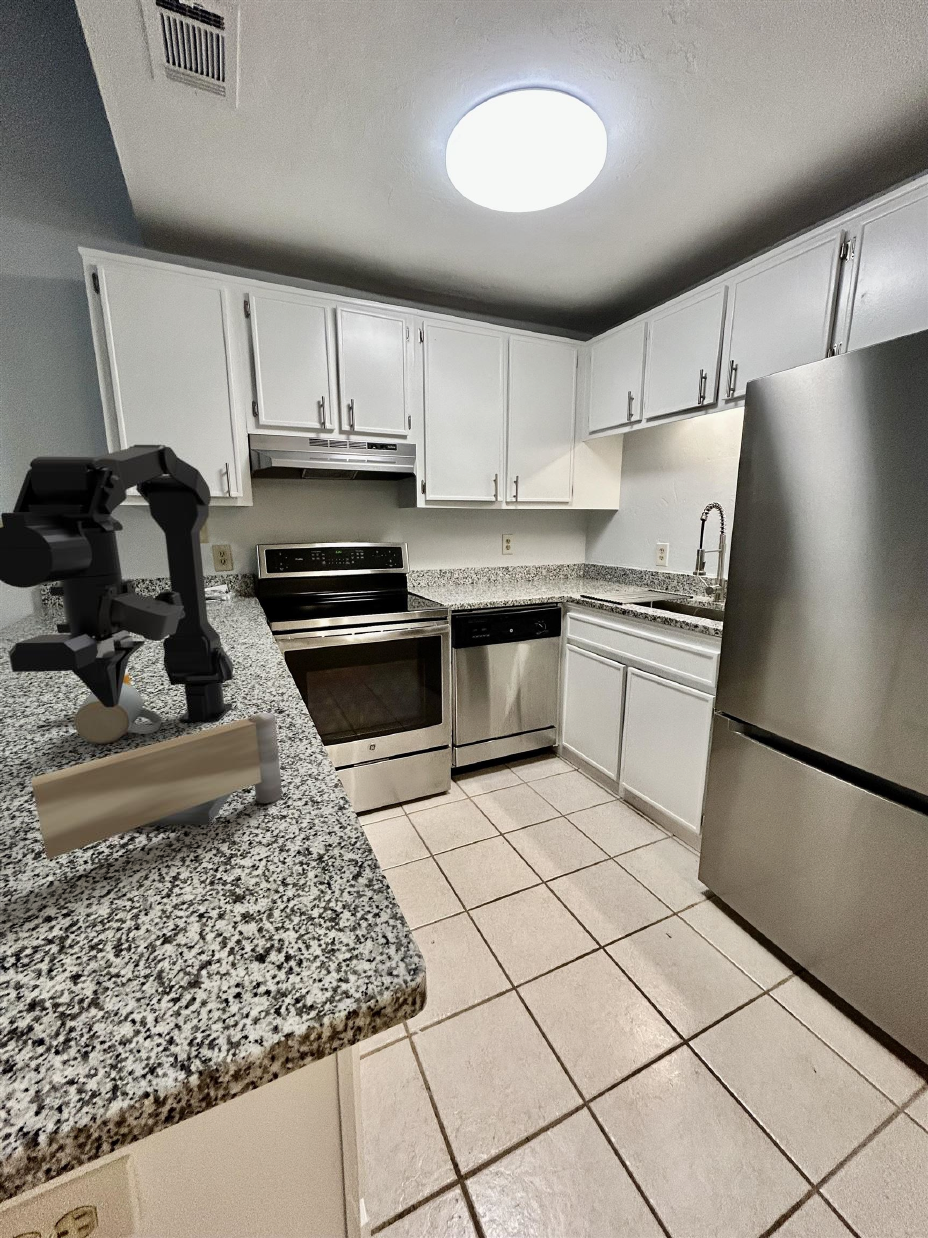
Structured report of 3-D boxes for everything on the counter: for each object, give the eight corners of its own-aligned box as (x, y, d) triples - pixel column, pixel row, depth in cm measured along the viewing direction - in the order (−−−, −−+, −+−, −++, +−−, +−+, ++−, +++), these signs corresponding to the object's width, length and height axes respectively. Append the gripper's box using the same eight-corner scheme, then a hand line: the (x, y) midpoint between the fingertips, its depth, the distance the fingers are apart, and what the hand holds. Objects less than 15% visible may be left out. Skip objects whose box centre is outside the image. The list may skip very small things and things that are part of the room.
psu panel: (126, 774, 68) (124, 760, 68) (248, 770, 69) (246, 757, 68) (62, 829, 56) (59, 813, 56) (209, 824, 57) (207, 808, 57)
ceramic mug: (74, 750, 75) (67, 701, 73) (92, 728, 82) (85, 683, 81) (157, 740, 79) (151, 692, 77) (166, 719, 86) (161, 676, 84)
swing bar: (49, 872, 49) (30, 776, 47) (275, 787, 64) (268, 710, 62) (53, 889, 47) (32, 788, 45) (286, 796, 62) (279, 718, 60)
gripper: (113, 585, 48) (137, 739, 51) (202, 564, 66) (215, 678, 69) (-11, 587, 47) (21, 742, 51) (113, 565, 65) (131, 680, 69)
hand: (111, 706), depth 60 cm, fingers closed
